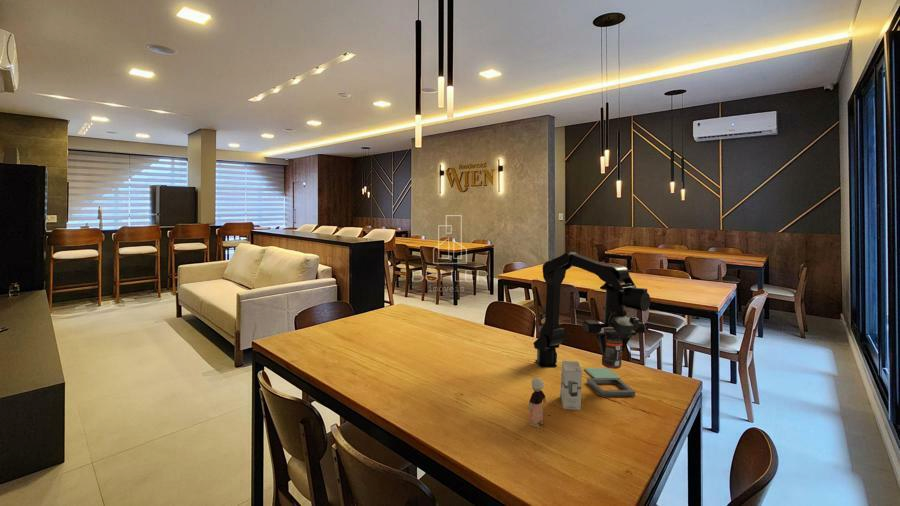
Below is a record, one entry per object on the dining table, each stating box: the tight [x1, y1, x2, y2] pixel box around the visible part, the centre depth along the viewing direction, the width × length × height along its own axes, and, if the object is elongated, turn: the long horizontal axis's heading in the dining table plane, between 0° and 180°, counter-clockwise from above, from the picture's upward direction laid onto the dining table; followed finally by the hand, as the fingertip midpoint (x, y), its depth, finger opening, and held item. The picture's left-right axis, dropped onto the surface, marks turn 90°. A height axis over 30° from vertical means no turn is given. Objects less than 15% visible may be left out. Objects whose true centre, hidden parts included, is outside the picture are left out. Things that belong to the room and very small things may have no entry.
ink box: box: [559, 360, 583, 411], centre depth 123 cm, size 9×5×12 cm, turn 172°
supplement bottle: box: [601, 330, 623, 370], centre depth 133 cm, size 6×6×11 cm
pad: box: [584, 367, 621, 380], centre depth 147 cm, size 9×9×1 cm
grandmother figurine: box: [527, 377, 547, 428], centre depth 110 cm, size 8×4×13 cm, turn 145°
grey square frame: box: [586, 377, 636, 398], centre depth 134 cm, size 11×11×2 cm
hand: (612, 352), depth 133 cm, fingers closed on supplement bottle, 6 cm apart
